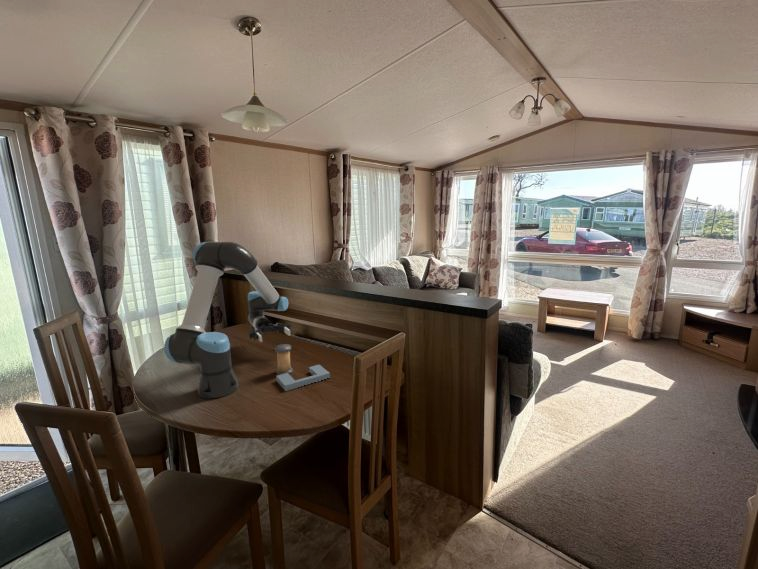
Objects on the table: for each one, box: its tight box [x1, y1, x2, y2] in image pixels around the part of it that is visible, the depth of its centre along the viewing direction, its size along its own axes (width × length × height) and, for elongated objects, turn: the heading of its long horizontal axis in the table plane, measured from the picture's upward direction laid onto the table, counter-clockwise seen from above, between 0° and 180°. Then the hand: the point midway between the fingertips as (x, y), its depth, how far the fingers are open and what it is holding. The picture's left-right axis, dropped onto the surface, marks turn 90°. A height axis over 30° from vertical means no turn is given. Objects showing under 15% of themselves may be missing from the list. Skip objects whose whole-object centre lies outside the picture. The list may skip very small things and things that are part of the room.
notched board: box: [275, 364, 331, 392], centre depth 154 cm, size 20×11×2 cm, turn 124°
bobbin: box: [274, 343, 294, 376], centre depth 161 cm, size 7×7×12 cm
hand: (275, 336), depth 168 cm, fingers open, 13 cm apart
